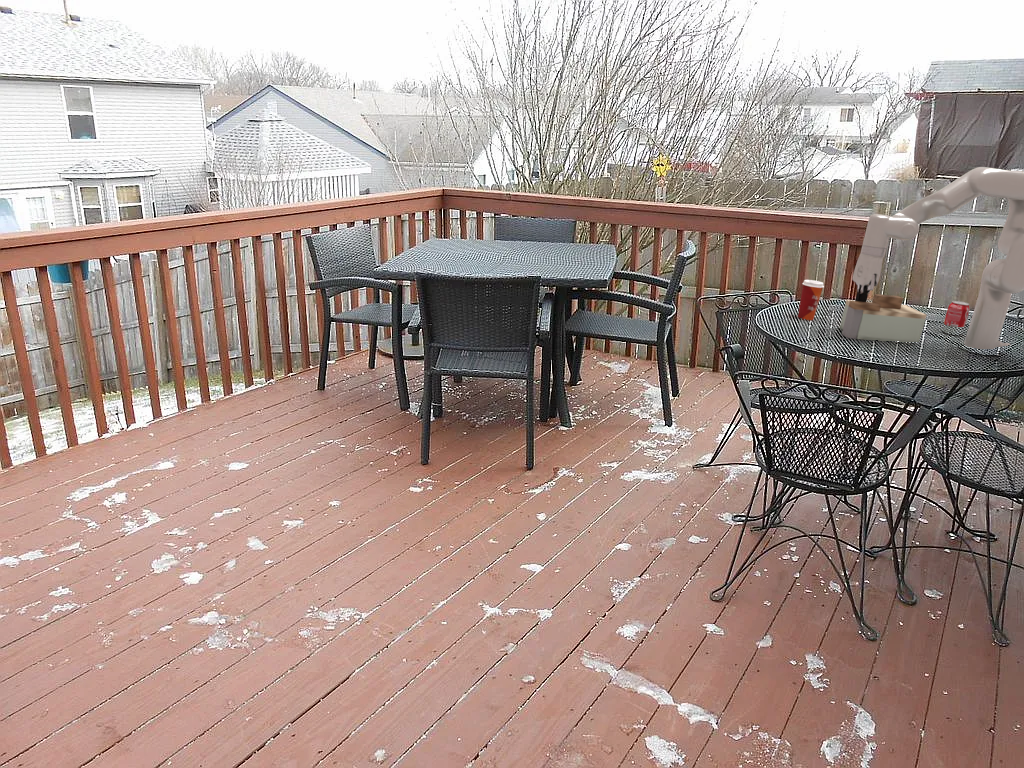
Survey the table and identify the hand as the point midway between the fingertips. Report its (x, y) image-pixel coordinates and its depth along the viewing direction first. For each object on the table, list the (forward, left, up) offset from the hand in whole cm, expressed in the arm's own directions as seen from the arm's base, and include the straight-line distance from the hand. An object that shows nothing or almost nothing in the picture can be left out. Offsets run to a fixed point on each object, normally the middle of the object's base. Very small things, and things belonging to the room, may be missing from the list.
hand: (860, 304), depth 267 cm
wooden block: (+1, +5, 0) cm, 5 cm away
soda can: (-45, -14, -11) cm, 48 cm away
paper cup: (+9, -20, -11) cm, 24 cm away
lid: (-10, -1, -2) cm, 10 cm away
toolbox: (-8, -1, -11) cm, 14 cm away
